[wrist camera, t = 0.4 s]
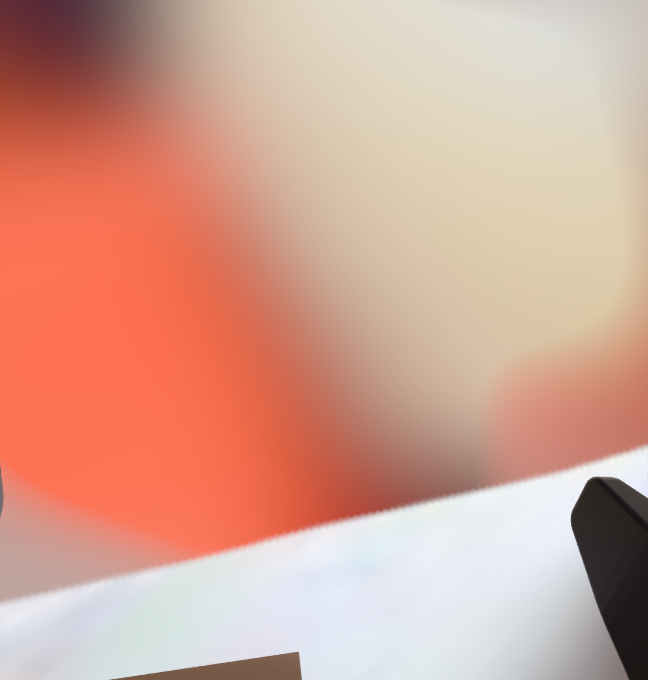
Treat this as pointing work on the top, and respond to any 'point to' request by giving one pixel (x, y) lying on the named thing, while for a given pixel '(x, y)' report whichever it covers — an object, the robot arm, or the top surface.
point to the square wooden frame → (236, 670)
